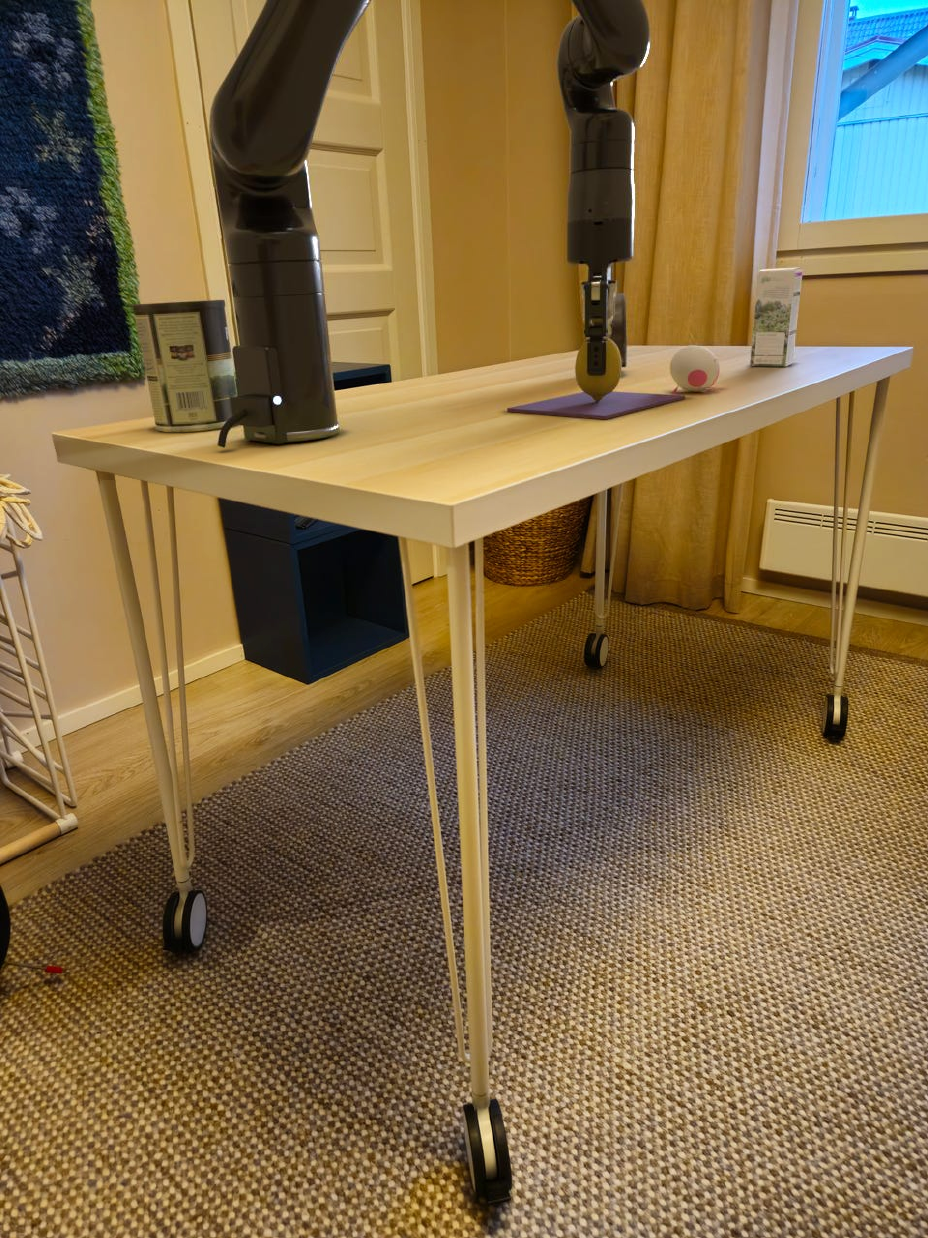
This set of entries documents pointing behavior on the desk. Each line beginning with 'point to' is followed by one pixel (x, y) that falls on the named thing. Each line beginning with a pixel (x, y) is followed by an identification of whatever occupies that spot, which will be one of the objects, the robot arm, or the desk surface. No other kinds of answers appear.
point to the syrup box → (775, 316)
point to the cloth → (596, 404)
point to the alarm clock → (620, 326)
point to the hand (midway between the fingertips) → (598, 371)
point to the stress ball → (694, 368)
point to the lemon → (599, 384)
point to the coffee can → (187, 363)
